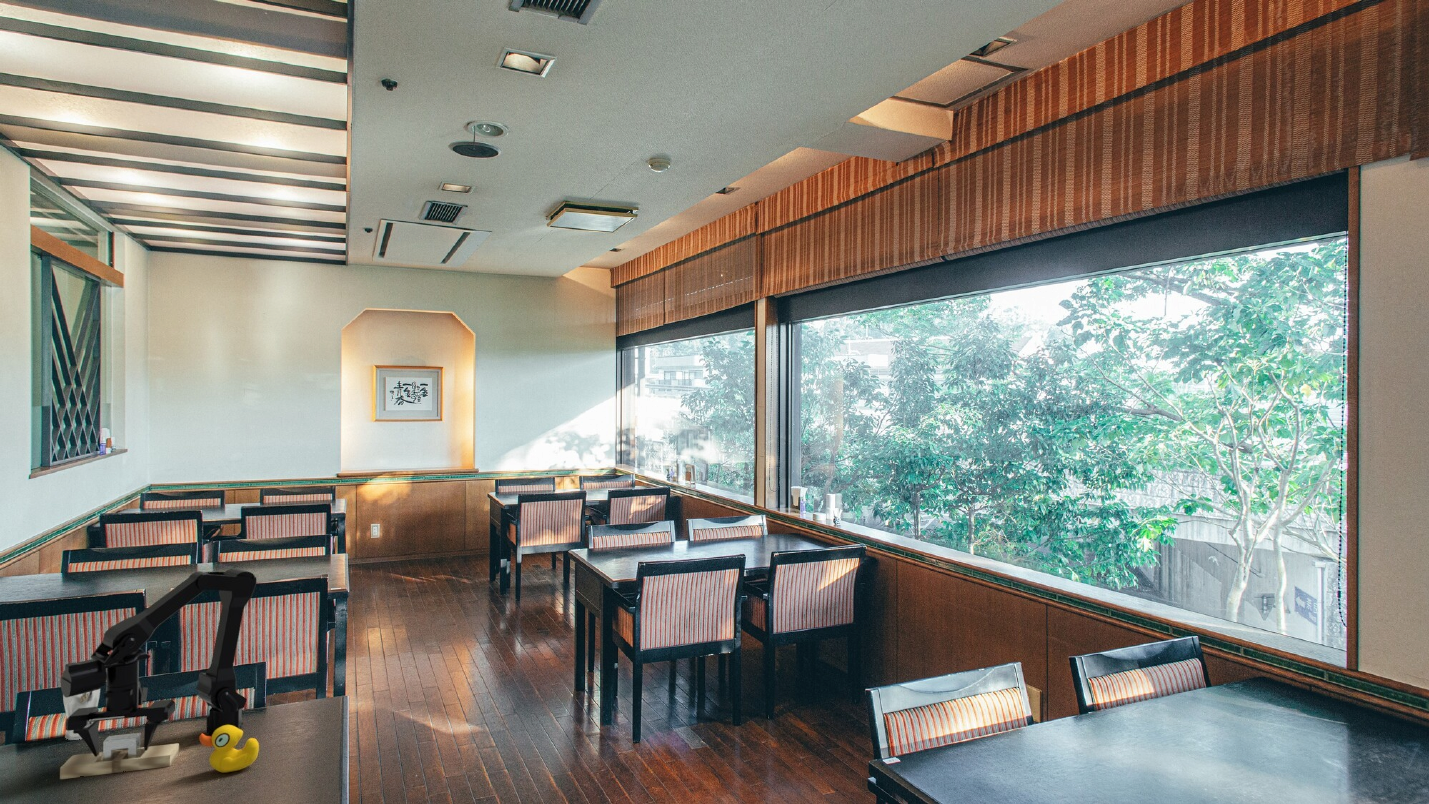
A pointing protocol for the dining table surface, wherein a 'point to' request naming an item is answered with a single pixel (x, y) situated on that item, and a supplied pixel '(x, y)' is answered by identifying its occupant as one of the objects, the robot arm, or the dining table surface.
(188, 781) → the dining table surface
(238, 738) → the duckling
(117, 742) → the clip
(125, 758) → the rail
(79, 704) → the beer glass
